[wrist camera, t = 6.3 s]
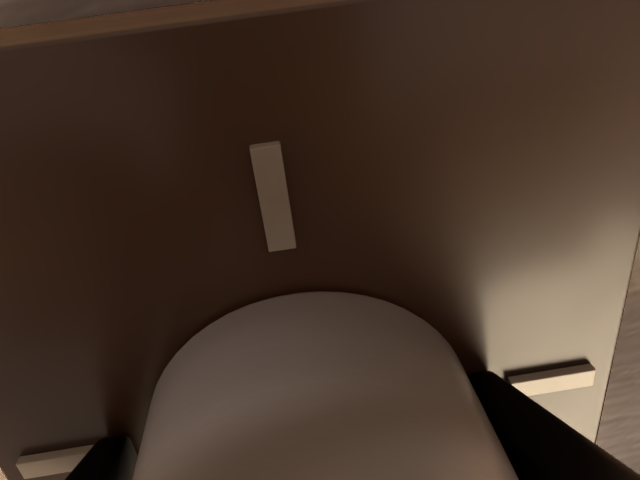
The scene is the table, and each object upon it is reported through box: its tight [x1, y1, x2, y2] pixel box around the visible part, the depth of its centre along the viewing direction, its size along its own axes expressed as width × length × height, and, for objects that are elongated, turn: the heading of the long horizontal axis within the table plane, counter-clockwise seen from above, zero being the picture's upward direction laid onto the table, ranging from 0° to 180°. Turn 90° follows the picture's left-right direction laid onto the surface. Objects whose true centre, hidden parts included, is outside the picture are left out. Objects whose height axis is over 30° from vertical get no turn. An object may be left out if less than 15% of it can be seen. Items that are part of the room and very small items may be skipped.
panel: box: [0, 0, 640, 480], centre depth 10 cm, size 12×10×3 cm
